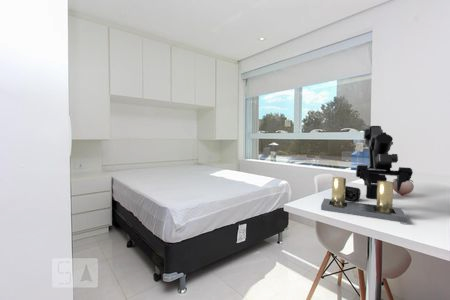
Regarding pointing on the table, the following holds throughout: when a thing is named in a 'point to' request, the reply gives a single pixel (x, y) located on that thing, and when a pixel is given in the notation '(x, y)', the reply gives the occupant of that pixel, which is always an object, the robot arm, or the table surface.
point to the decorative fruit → (403, 187)
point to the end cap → (352, 194)
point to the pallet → (365, 211)
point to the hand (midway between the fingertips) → (384, 189)
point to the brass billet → (384, 196)
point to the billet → (338, 191)
